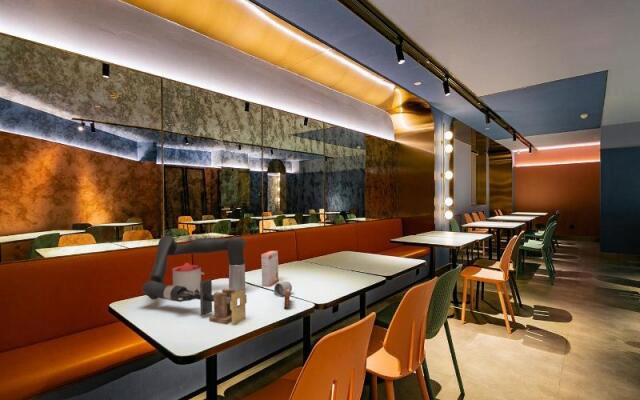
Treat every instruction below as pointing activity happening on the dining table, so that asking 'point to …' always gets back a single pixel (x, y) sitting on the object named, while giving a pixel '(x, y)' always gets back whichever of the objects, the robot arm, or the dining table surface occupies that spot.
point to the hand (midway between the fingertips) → (202, 297)
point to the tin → (287, 297)
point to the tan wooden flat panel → (239, 310)
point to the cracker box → (269, 268)
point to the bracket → (222, 307)
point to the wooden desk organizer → (207, 297)
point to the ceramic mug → (282, 288)
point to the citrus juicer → (187, 276)
